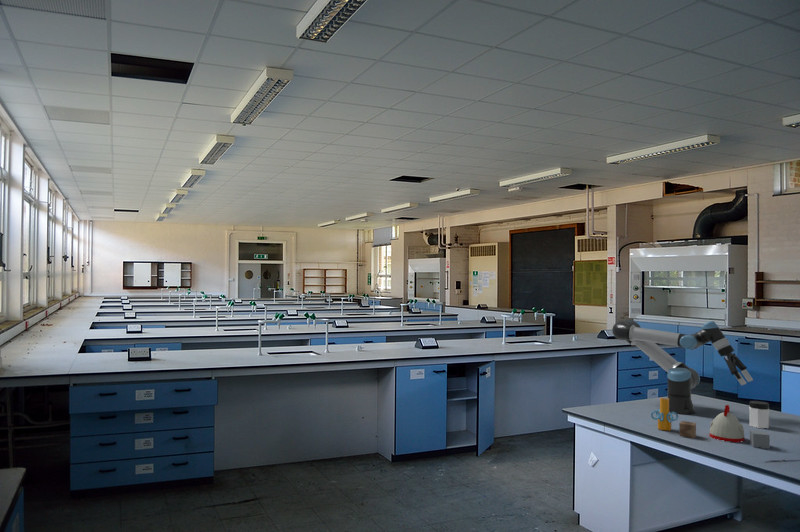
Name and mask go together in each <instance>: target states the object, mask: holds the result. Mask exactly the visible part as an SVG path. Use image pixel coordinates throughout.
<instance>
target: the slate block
mask: <svg viewBox="0 0 800 532" xmlns="http://www.w3.org/2000/svg"><path fill="white" fill-rule="evenodd" d="M770 441H771V440H770V434H769V433H768V432H767V431H763V430H761V431H760V430H751V429H749V444H750V445H751V446H752V448H755V447H761V448H760V449H765V448H769V449H768V450H770V447H771V443H770Z"/></svg>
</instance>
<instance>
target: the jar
mask: <svg viewBox="0 0 800 532" xmlns="http://www.w3.org/2000/svg"><path fill="white" fill-rule="evenodd" d="M748 413H749V418H748V419H749V423H748V424H749V427H752V426H753V427H752V428H756V427H757V428H756V429H764V428H767V429H769V428H770V403H768V402H766V401H759V400H750V401H749V411H748Z"/></svg>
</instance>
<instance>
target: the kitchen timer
mask: <svg viewBox="0 0 800 532" xmlns="http://www.w3.org/2000/svg"><path fill="white" fill-rule="evenodd" d="M730 408H731V407H730V405H729V404H725V405H724V408H723V409H724V411H723V412H721V413H719V414H717V415H716V417H714V419H712V421H711V422H710V426H709V428H710V429H709V437H710V438H711V437H712V439H714V438H715V439H714V440H717V439H718V440H717V441H721V440H724V441H723V442H726V441H732V442H731V443H742V442H741V441H743V442H745V430H744V425H743V424H742V423H741V422H740V421H739V420H738V418H737V417H736V416H735V415H734V414H733V413H730V410H731V409H730Z"/></svg>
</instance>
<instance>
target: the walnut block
mask: <svg viewBox="0 0 800 532" xmlns="http://www.w3.org/2000/svg"><path fill="white" fill-rule="evenodd" d="M678 430H679V437H681V436H683V437H682V438H687V437H688V439H695V438H696V436H697V422H691V421H685V420H684V421H683V420H681V421H680V422H679V427H678Z"/></svg>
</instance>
